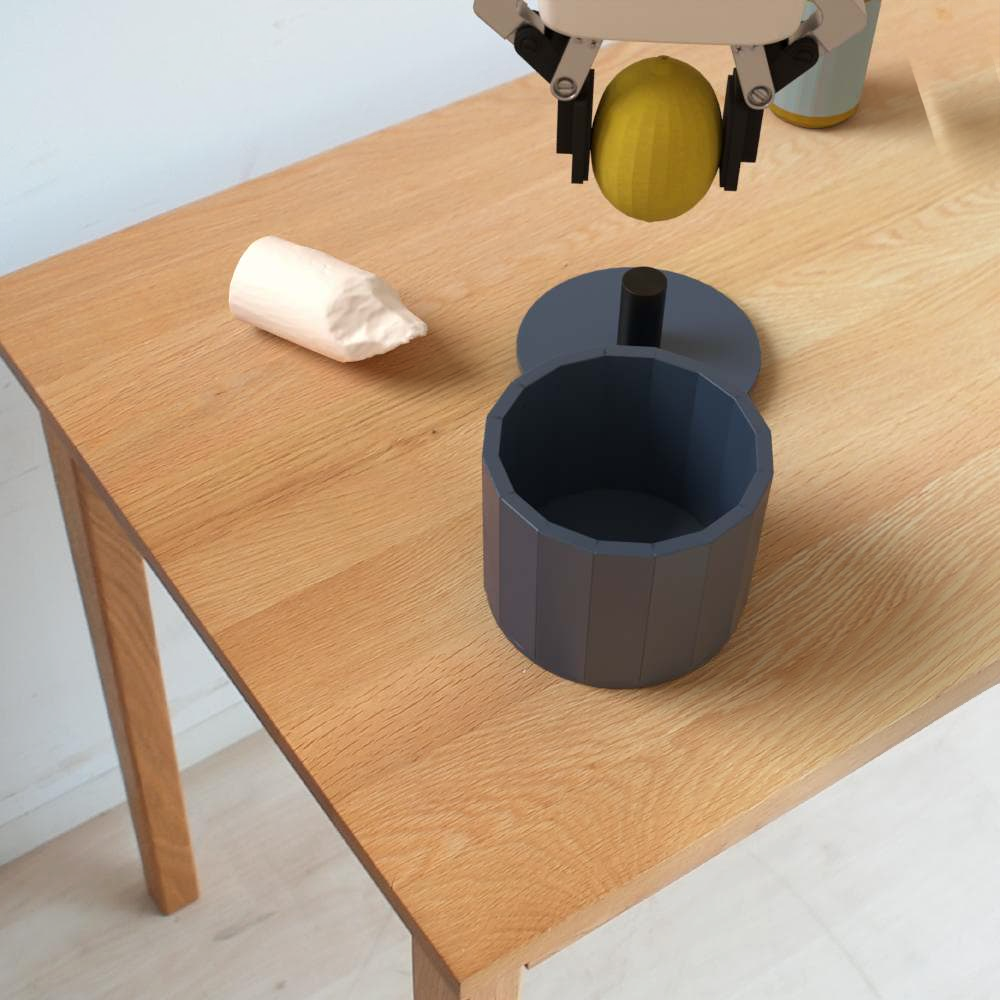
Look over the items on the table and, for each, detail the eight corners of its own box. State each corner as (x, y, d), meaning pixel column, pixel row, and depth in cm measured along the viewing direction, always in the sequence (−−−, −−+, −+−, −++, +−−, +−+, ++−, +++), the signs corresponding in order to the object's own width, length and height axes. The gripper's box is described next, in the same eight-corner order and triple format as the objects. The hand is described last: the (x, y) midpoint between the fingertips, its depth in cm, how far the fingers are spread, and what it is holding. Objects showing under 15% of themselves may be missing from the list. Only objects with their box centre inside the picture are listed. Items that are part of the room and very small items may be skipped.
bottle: (865, 132, 103) (909, -70, 91) (766, 131, 103) (798, -70, 91) (850, 77, 107) (891, -122, 96) (755, 77, 107) (785, -122, 96)
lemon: (736, 237, 63) (760, 75, 57) (624, 274, 61) (636, 111, 55) (672, 169, 66) (688, 9, 60) (564, 201, 64) (570, 40, 58)
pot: (740, 491, 80) (766, 352, 72) (749, 697, 71) (780, 564, 63) (496, 478, 81) (495, 338, 73) (474, 680, 72) (471, 546, 64)
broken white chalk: (397, 410, 84) (391, 339, 80) (233, 338, 88) (220, 267, 84) (451, 350, 88) (449, 278, 83) (292, 283, 92) (282, 212, 88)
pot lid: (754, 287, 92) (767, 207, 87) (764, 455, 82) (779, 376, 77) (524, 275, 92) (525, 196, 88) (507, 440, 83) (507, 361, 78)
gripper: (944, -321, 50) (850, 126, 63) (449, -335, 51) (462, 109, 64) (973, -230, 45) (864, 234, 59) (424, -247, 46) (443, 213, 60)
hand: (654, 164), depth 61 cm, fingers closed on lemon, 5 cm apart
